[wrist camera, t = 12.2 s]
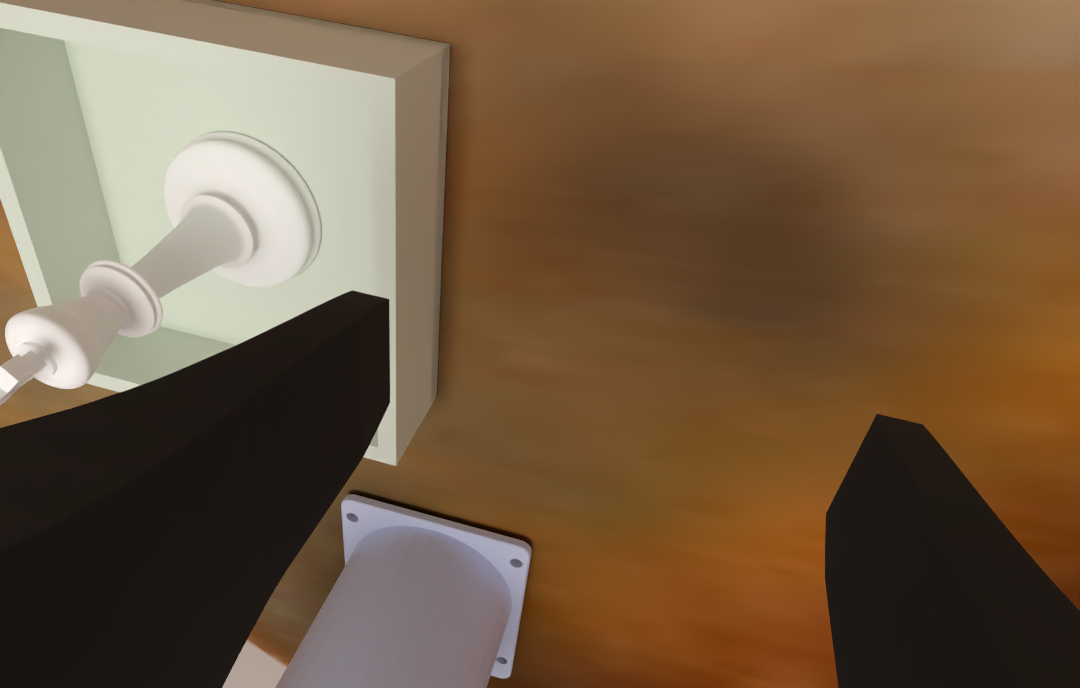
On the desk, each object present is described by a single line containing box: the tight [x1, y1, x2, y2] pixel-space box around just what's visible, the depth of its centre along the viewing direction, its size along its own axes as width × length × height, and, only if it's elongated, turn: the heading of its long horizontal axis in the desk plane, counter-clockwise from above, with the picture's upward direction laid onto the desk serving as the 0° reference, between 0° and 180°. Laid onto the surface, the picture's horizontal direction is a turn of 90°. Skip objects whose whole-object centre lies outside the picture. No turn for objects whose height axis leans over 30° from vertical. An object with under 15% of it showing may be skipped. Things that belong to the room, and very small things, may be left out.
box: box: [0, 0, 450, 466], centre depth 22 cm, size 12×12×4 cm
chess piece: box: [0, 132, 321, 405], centre depth 19 cm, size 5×5×10 cm
